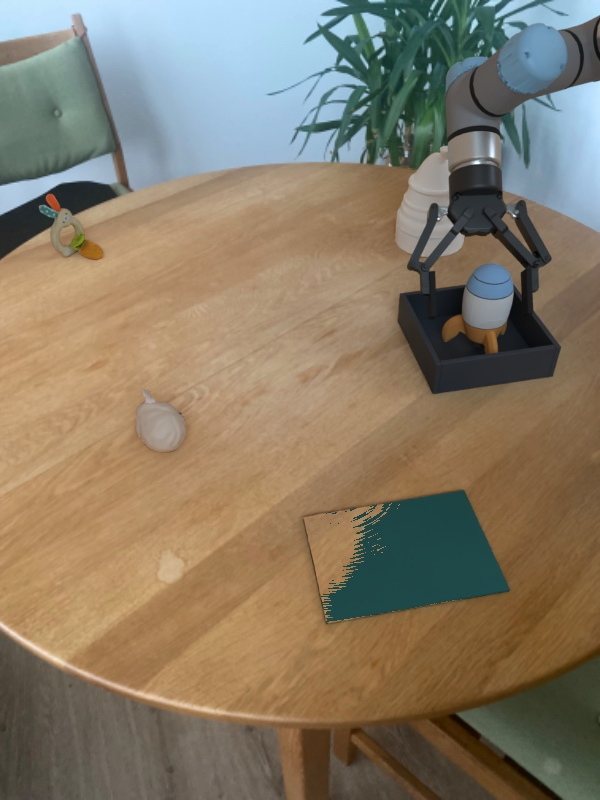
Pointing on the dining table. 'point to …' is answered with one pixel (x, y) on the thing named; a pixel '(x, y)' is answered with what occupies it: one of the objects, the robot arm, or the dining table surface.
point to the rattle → (64, 220)
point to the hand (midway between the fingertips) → (480, 316)
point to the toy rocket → (483, 308)
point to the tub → (466, 364)
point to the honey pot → (426, 206)
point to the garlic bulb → (159, 424)
